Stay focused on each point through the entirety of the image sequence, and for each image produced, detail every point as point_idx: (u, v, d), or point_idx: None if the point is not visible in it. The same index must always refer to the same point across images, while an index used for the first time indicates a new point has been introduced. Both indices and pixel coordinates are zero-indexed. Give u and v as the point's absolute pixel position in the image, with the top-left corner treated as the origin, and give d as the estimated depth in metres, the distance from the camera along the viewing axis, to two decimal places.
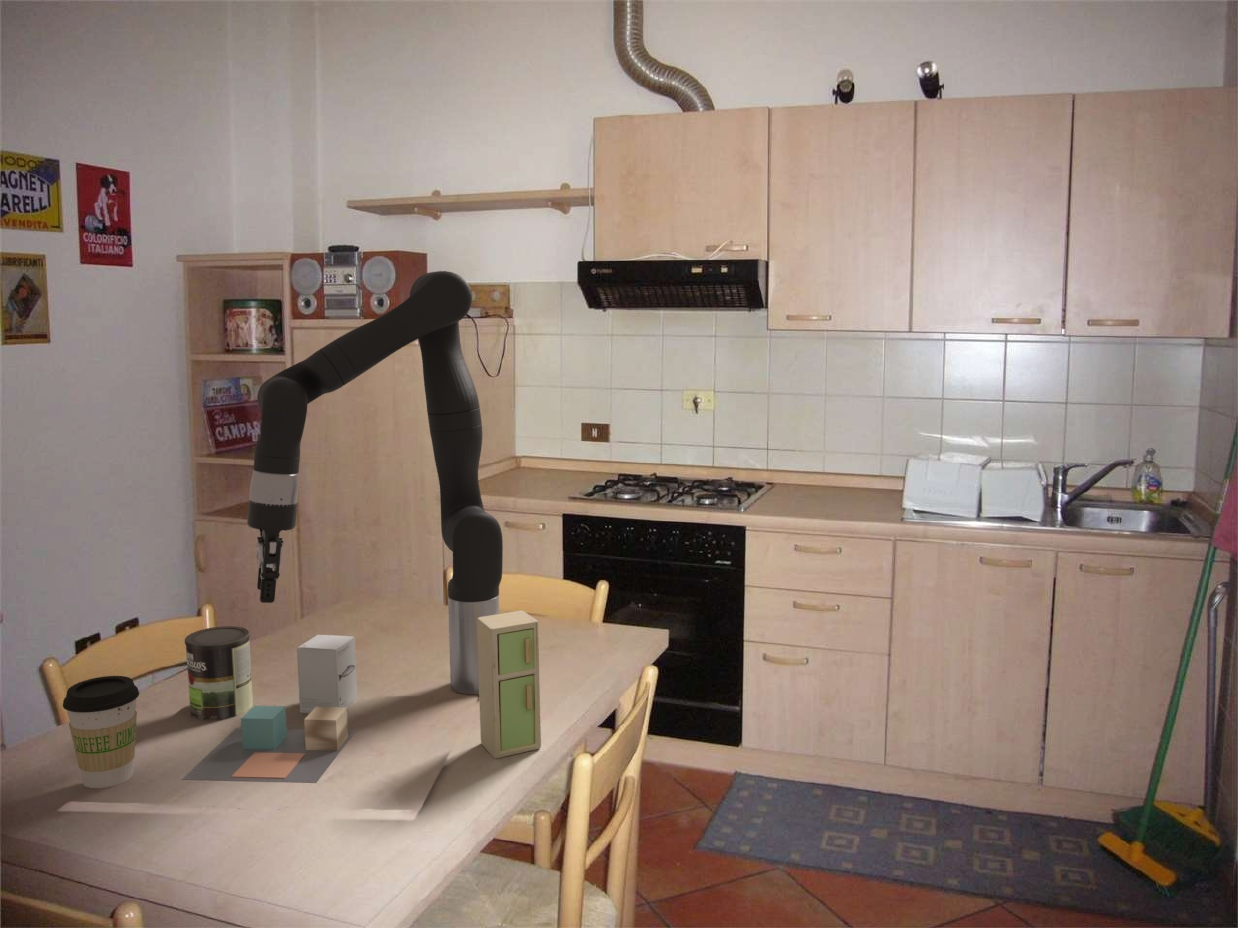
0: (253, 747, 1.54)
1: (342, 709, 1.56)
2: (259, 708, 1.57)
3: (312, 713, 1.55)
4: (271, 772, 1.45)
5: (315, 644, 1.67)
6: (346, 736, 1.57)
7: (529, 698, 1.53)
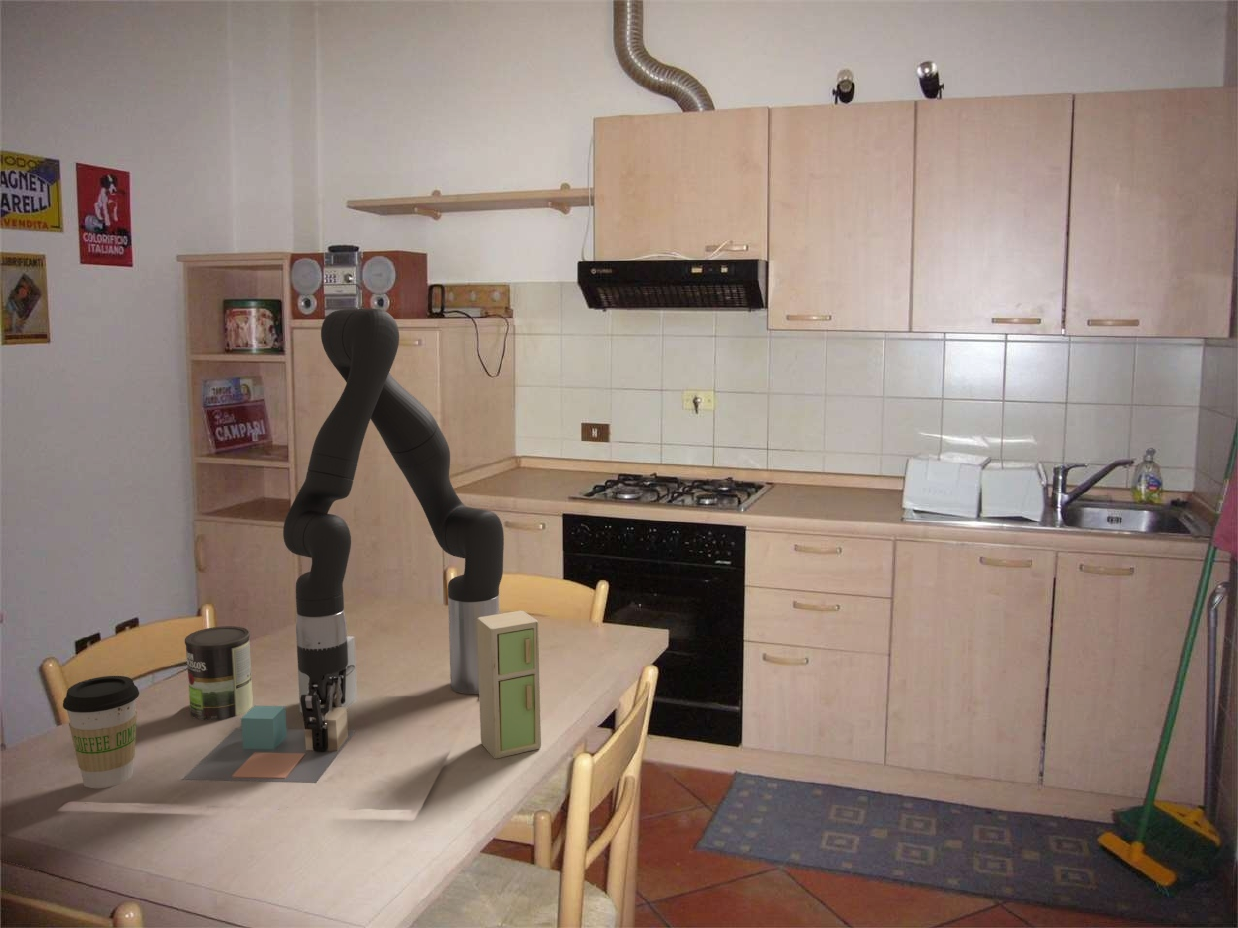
0: (253, 747, 1.54)
1: (342, 709, 1.56)
2: (259, 708, 1.57)
3: None
4: (271, 772, 1.45)
5: None
6: (346, 736, 1.57)
7: (529, 698, 1.53)
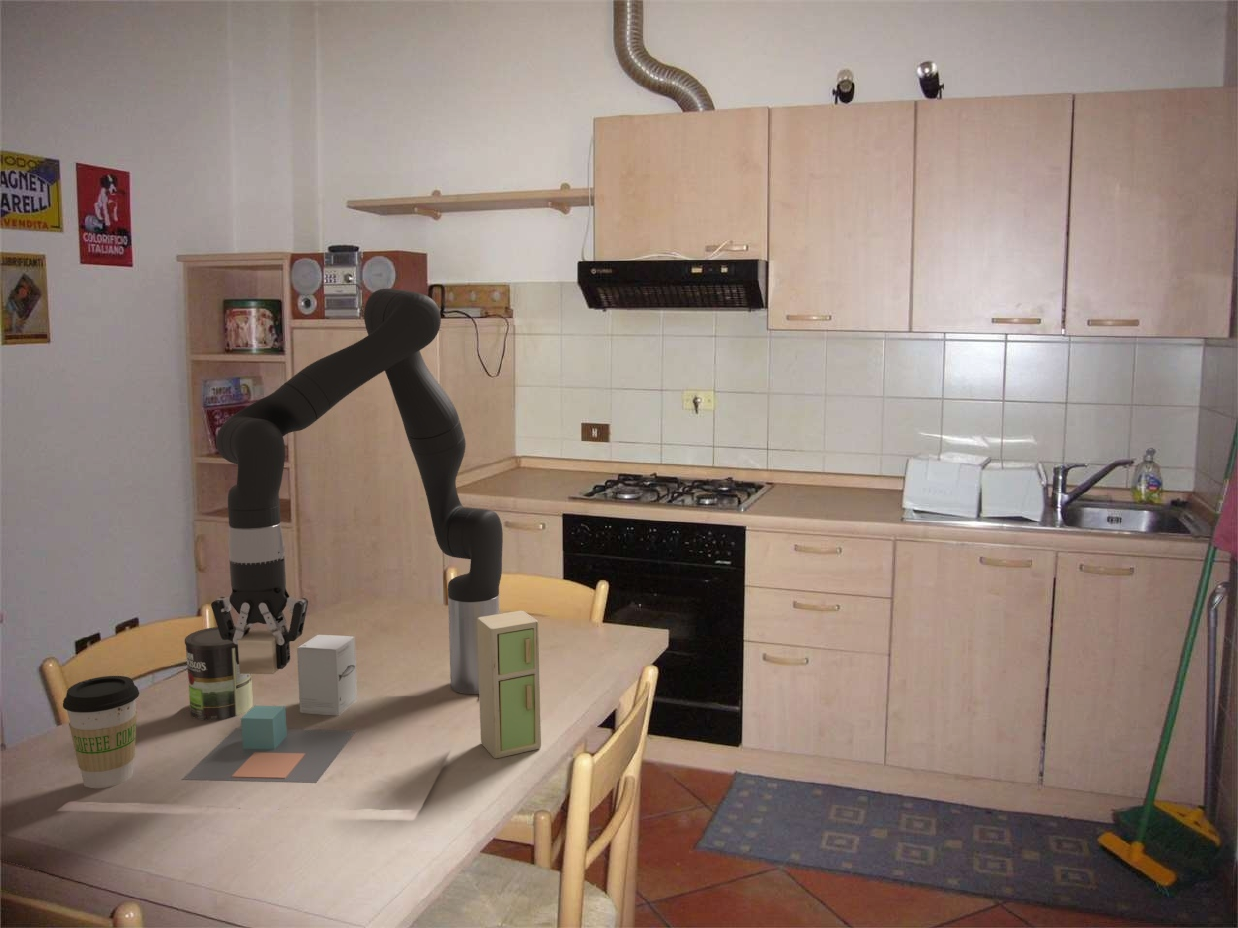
0: (253, 747, 1.54)
1: (265, 640, 1.43)
2: (259, 708, 1.57)
3: (266, 630, 1.47)
4: (271, 772, 1.45)
5: (315, 644, 1.67)
6: (268, 671, 1.43)
7: (529, 698, 1.53)
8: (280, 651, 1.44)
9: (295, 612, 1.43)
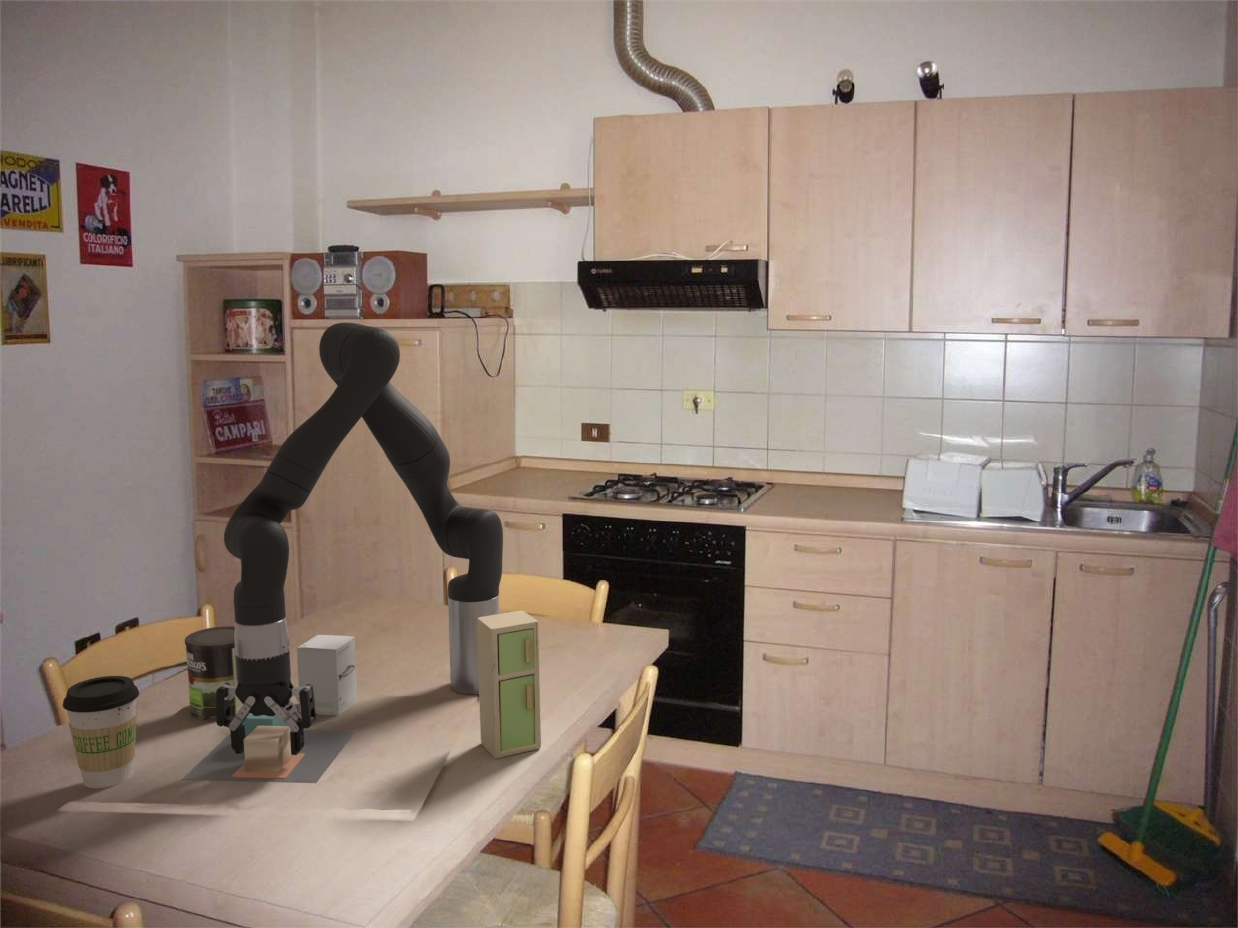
0: None
1: (271, 739, 1.45)
2: None
3: (271, 727, 1.49)
4: (271, 772, 1.45)
5: (315, 644, 1.67)
6: (273, 769, 1.45)
7: (529, 698, 1.53)
8: (294, 738, 1.46)
9: (302, 700, 1.45)
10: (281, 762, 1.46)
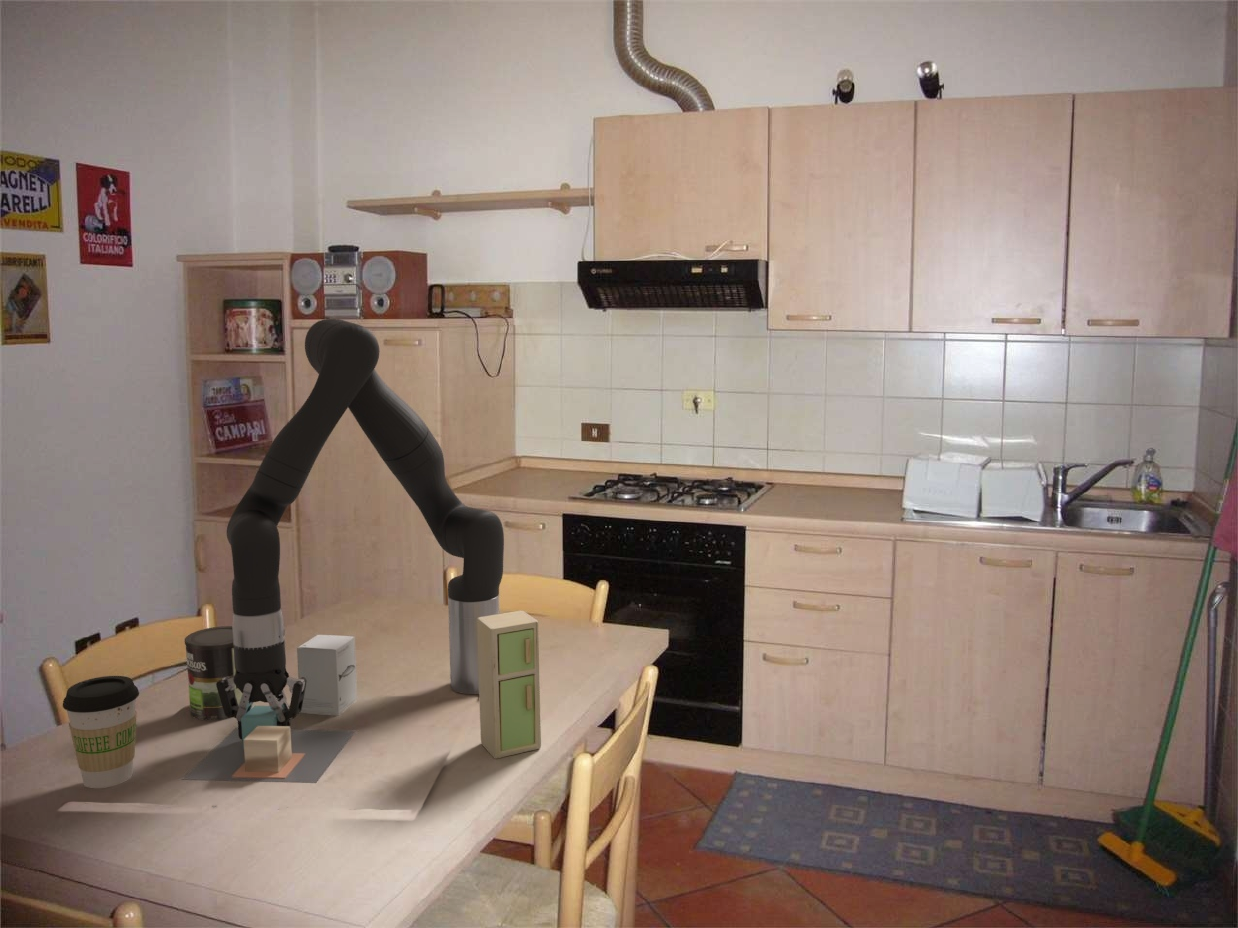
0: None
1: (271, 739, 1.45)
2: (259, 708, 1.57)
3: (271, 727, 1.49)
4: (271, 772, 1.45)
5: (315, 644, 1.67)
6: (273, 769, 1.45)
7: (529, 698, 1.53)
8: None
9: (295, 691, 1.53)
10: (281, 762, 1.46)
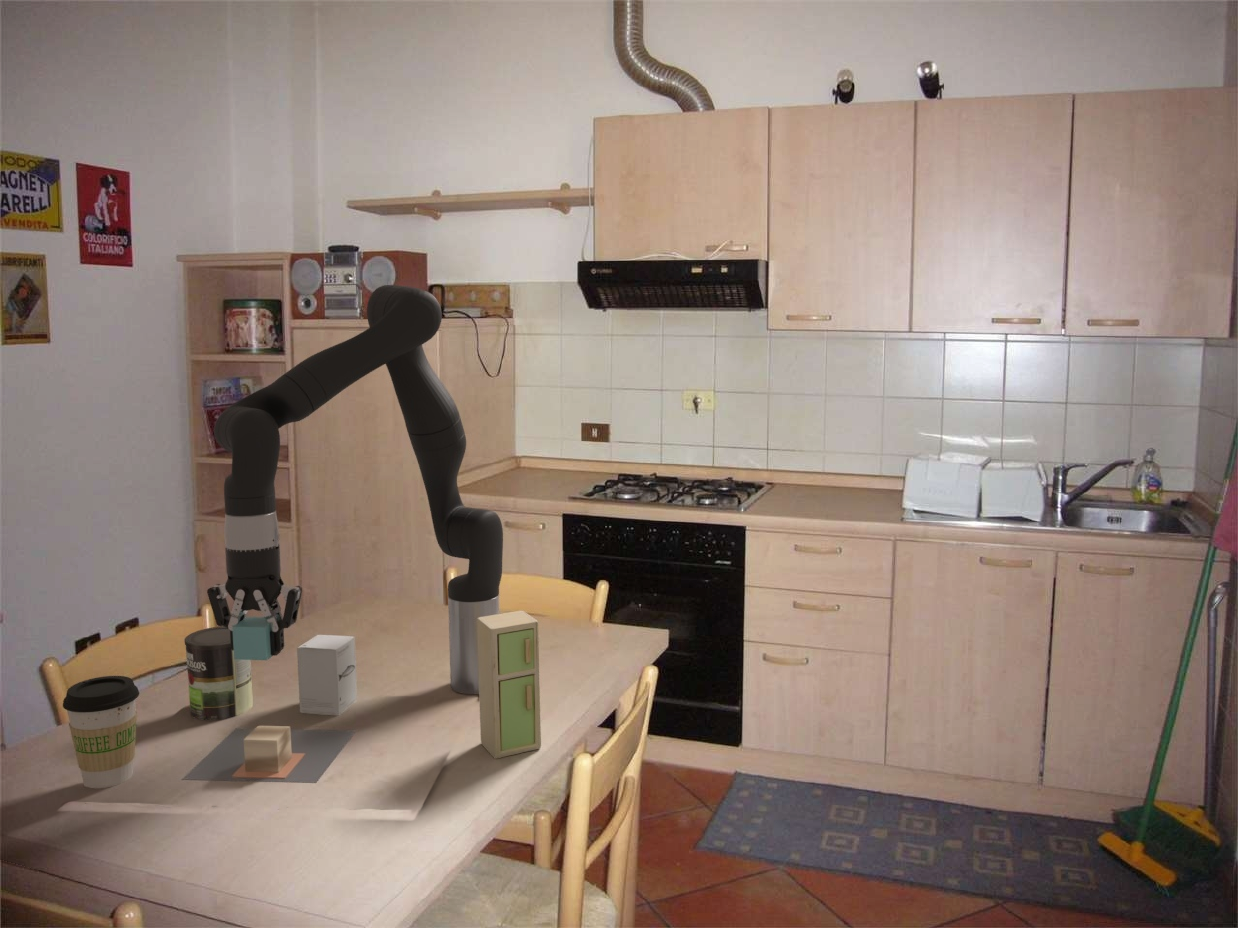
0: (245, 658, 1.45)
1: (271, 739, 1.45)
2: (252, 619, 1.49)
3: (271, 727, 1.49)
4: (271, 772, 1.45)
5: (315, 644, 1.67)
6: (273, 769, 1.45)
7: (529, 698, 1.53)
8: (274, 638, 1.46)
9: (289, 599, 1.45)
10: (281, 762, 1.46)
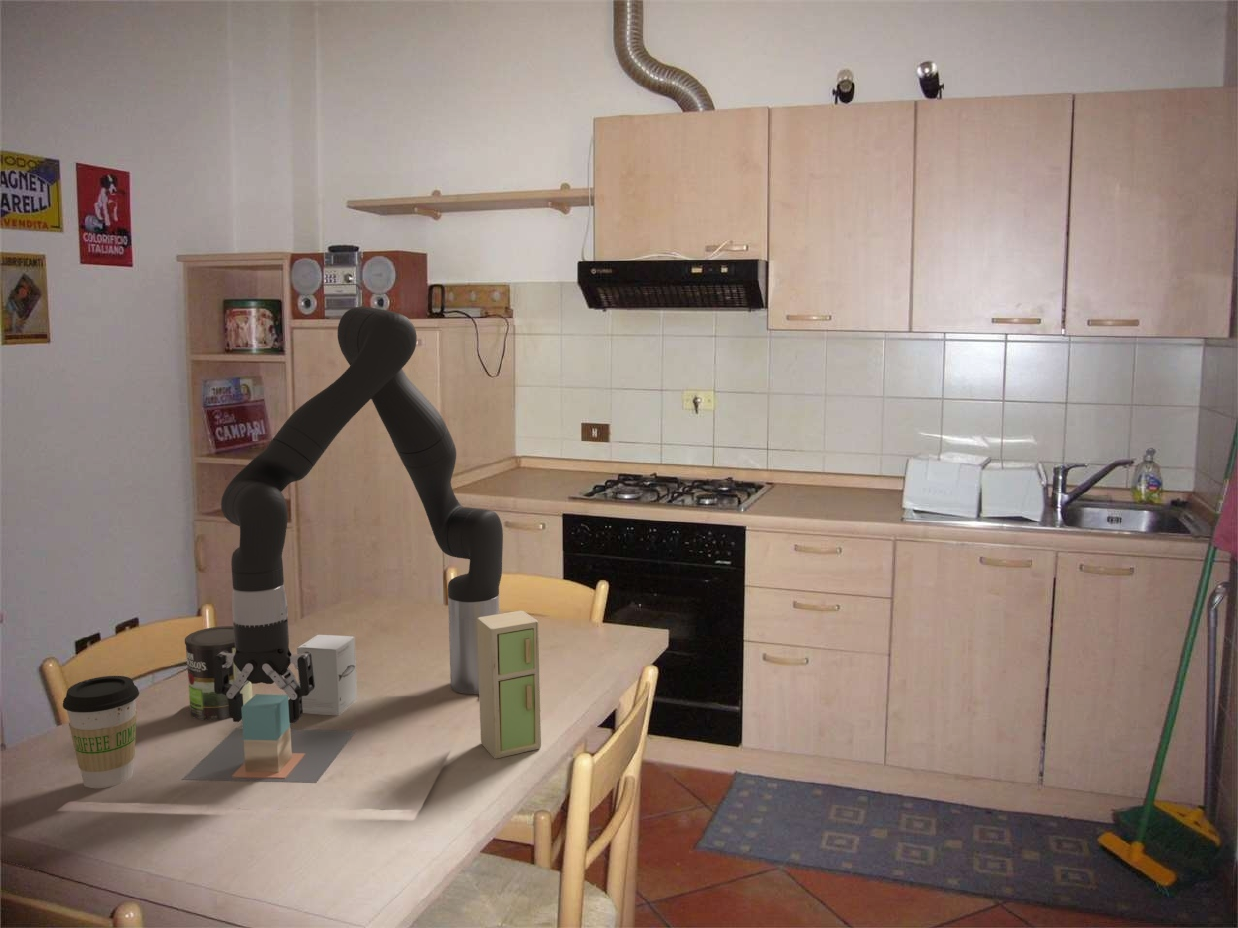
0: (254, 738, 1.45)
1: None
2: (260, 697, 1.48)
3: None
4: (271, 772, 1.45)
5: (315, 644, 1.67)
6: (273, 769, 1.45)
7: (529, 698, 1.53)
8: (293, 706, 1.45)
9: (300, 667, 1.44)
10: (281, 762, 1.46)
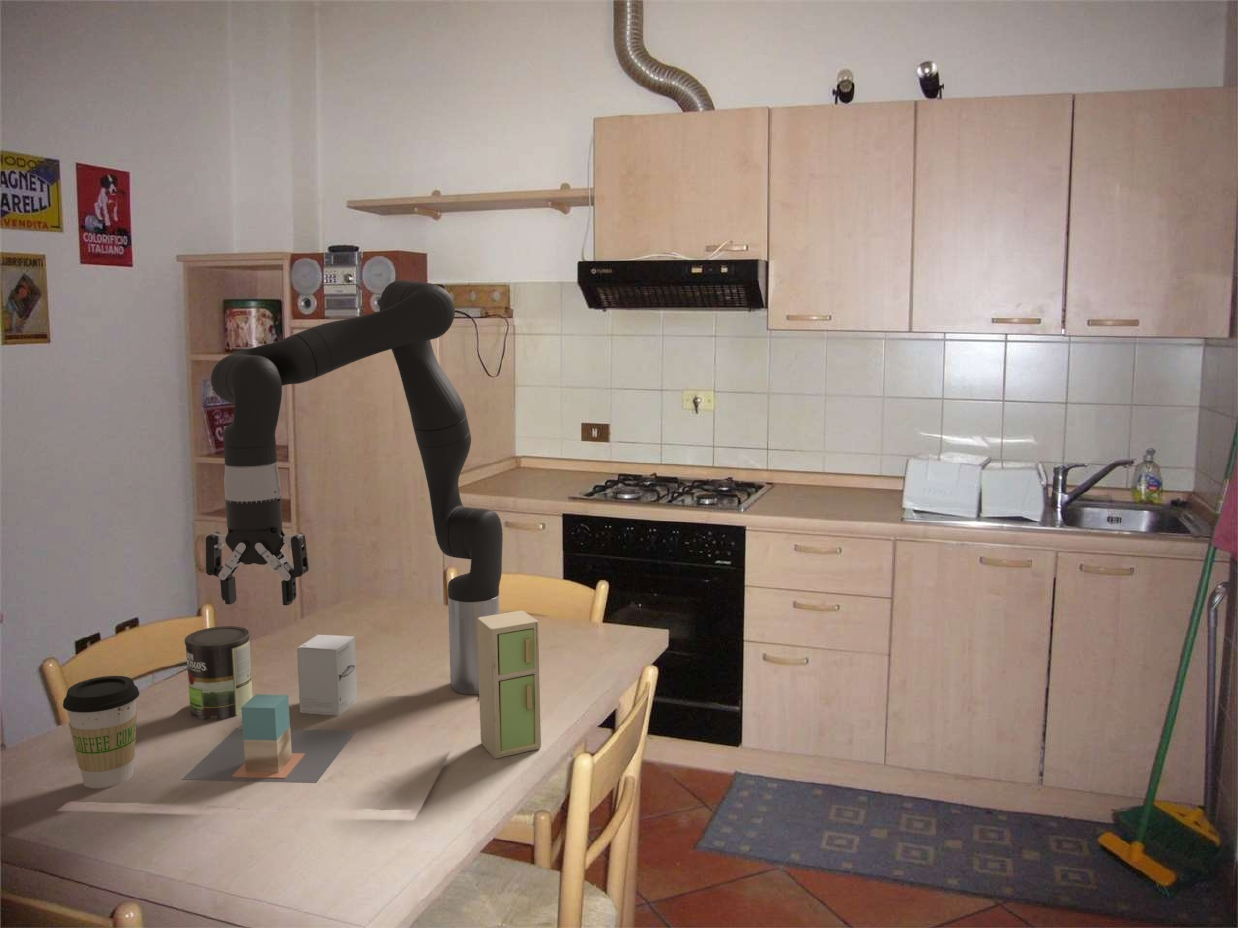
0: (254, 738, 1.45)
1: None
2: (260, 697, 1.48)
3: None
4: (271, 772, 1.45)
5: (315, 644, 1.67)
6: (273, 769, 1.45)
7: (529, 698, 1.53)
8: (286, 587, 1.43)
9: (294, 547, 1.41)
10: (281, 762, 1.46)
